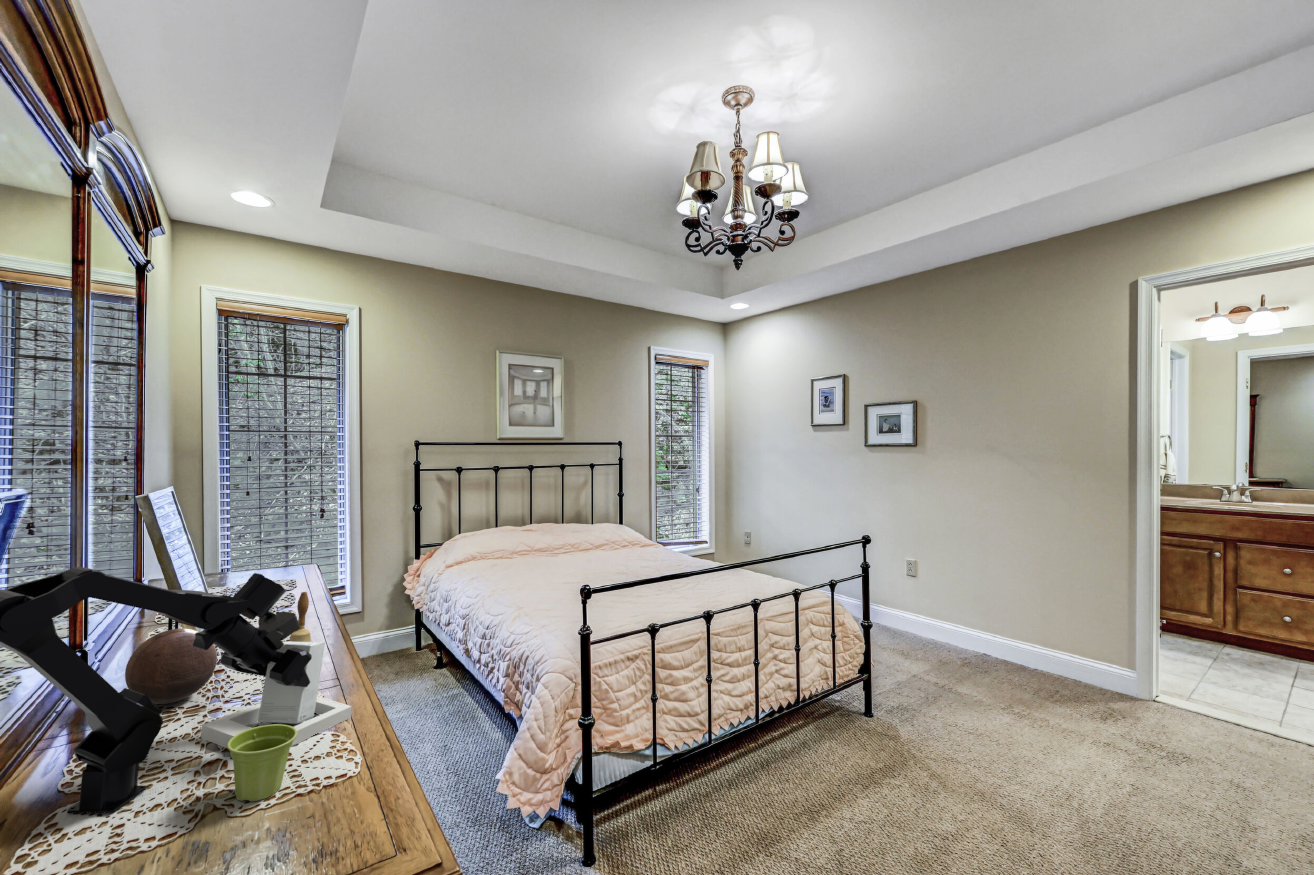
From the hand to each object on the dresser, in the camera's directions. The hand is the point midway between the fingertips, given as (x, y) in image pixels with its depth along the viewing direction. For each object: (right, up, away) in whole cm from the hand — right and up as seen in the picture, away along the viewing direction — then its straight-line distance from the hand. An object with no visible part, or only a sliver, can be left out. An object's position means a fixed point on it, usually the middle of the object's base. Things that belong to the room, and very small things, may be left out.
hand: (292, 679), depth 115 cm
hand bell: (-23, -9, +38) cm, 45 cm away
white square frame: (-1, -9, -1) cm, 9 cm away
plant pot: (+9, -9, -22) cm, 26 cm away
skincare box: (-1, -8, -2) cm, 8 cm away
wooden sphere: (-31, -8, +7) cm, 32 cm away
